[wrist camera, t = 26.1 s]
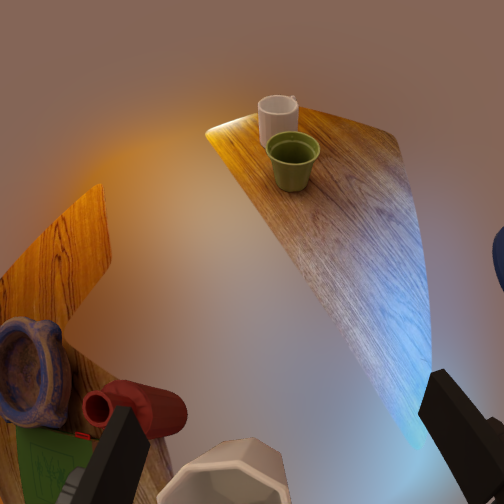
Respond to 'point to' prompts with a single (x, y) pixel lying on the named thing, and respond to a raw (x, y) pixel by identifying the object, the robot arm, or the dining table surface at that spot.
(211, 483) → the cup
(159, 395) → the sauce bottle
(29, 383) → the bowl
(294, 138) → the plant pot
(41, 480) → the book
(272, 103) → the mug
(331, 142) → the dining table surface
